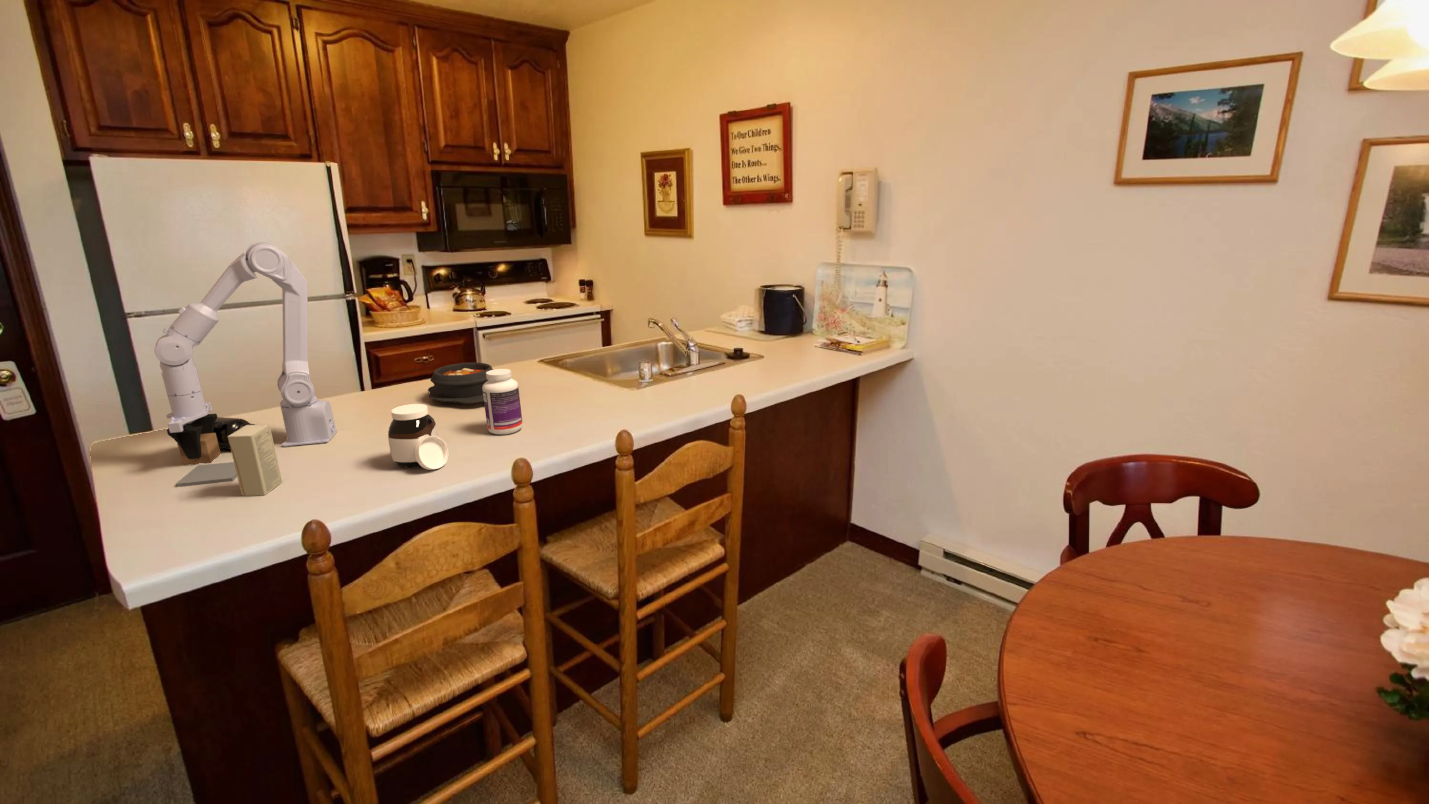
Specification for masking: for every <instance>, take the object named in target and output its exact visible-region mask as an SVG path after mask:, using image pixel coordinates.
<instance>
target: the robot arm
mask: <svg viewBox="0 0 1429 804" xmlns="http://www.w3.org/2000/svg"><path fill="white" fill-rule="evenodd" d="M256 273H258V274H260V275H262V276H264V277H266V278H268V279H270V280H271V281H273V282H274V283H275V284H276V285H277V286H278V287H280V288H281V290H282V293H281V297H282V351H283V352H282V366H281V368H282V371H281V373H280V375H279V377H278V379H277V387H278V390H279V392H280V395H281V398H282V400H281V401H280V402H279V406H280V410H281V414H282V420H283V424H284V429H285V432H286V433H285V434H286V436H287V437H286V439H285V441H284V442H282V443H281V446H282V447H291V446H292V447H293V446H302V445H313V444H323V443H324V444H325V443H329V442H330V441H331V439H332V438H333V437H334V436H335V434H336V433H337V432H338V429H336V428H337V427H336V423H335V419H334V412H333V408H332V406H331V402H330V401H329V400H319V399H318V397H317V396H316V395H315V391H316V390H315V387H314V384H313V383H312V381H311V378H310V377H311V376H310V374H311V373H310V369H309V368H310V367H309V357H308V356H309V346H308V344H309V341H308V340H309V339H308V337H309V335H308V334H309V331H308V330H309V324H308V323H309V322H308V321H309V319H308V317H309V316H308V315H309V312H308V311H309V310H308V308H309V307H308V293H309V292H308V290H309V289H308V281H307V279H306V278H305V276H303V274H302V273H301V272H300V270H299V269H298V267H297V266H296V264H294V262H293V261H292V259H291V258H290V257H289V256H288V255H287V254H286V253H284V252H283V251H282V250H280V249H279V248H277V247H276V246H274V245H272V244H270V243H268V242H263V241H260V242H259V241H257V242H254V243H252V244H250V245H249V247H248V248H247V249H246V251H245V252H243V253H241V254H240V255H239V256H238V257H237V258H236V259H234V260H233V261H232V262H231V263H230V264H229V265H228V266H227V268H226V269H225V270H224V271H223V273H222V274H221V276H219V278H218V279H217V281H216V282H215V283H214V284H213V286H212V287H211V289H210V290H208V292H207V294H206V295H205V296H204V297H203V299H201V301H200V302H193V303H188V305H186V307H185V306H181V307H180V308H179V310H178V313H179V315H178V316H177V318H176V319H175V320H174V321H173V322H172V324H171V325H170V326H169V327H165V328H163V330H162V333H164V335H161V336H160V337H159V338H158V339H157V341H156V343H155V346H154V355H155V357H156V358H157V359H158V360H159V367H160V369H161V377H162V380H163V385H164V388H165V391H166V395H167V398H168V402H169V405H170V407H169V408H170V410H171V411H170V413H167V414H166V415H165V417H166V419H170V421H169V422H168V423H167V427H168V429H166V432H167V435H168V436H169V437H171V438H172V439H173V440H174V441H175V442H176V443H178V444H179V445H180V447H181V448H182V450H183V451H184V453H185V455H186V456H187V458H188V459H198V458H201V445H200V435H201V434H207V433H213V431H214V426H215V422H216V420H217V417H218V414H217V413H211V412H213V406H212V402H211V401H210V402H208V401H207V402H206V400H205V396H204V391H203V389H202V388H203V387H202V385H201V381H200V377H199V373H198V369H197V367H196V366H195V364H194V360H193V348H194V347H196V346H200V344H201V343H202V342H203V340H204V339H205V338H206V337H207V336H208V335H209V333H210V332H211V331H212V330H213V329H214V327H216V325H217V324H218V323H219V315H218V312H217V311H219V309H220V308H221V307H222V306H223V305H224V304H225V303H226V301H227V300H228V299H229V298H230V297H231V296H232V295H233V294H234V292H235V291H236V290H237V289H238V288H239V287H240V286H241V285H242V284H244V282H248V281H249V282H250V281H251V280H254V279H257V278H258V276H257V274H256ZM178 444H177V445H178Z"/></svg>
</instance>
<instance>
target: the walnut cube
mask: <svg viewBox="0 0 1429 804" xmlns="http://www.w3.org/2000/svg"><path fill="white" fill-rule="evenodd" d="M176 443H177V442H176ZM200 445H201V458H198V459H188V458H187V456H186V455H185V453H184V451H183V450H182V448H181V447H180V445H179V444H178V443H177V447H178V451H179V456H180V458H181V462H182V466H183V465H184V466H190V465H189V464H194V465H200V464H199V463H204V464H212V463H213V462H214V461H215V460H216V459H217V458H218V457H219V455H220V454H221V455H222V453H221V450H220V449H221V448H219V445H218V441H217V437H216V433H207V434H201V435H200ZM221 455H220V456H221ZM214 459H215V460H214ZM213 460H214V461H213ZM212 461H213V462H212Z"/></svg>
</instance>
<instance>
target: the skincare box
mask: <svg viewBox="0 0 1429 804" xmlns="http://www.w3.org/2000/svg"><path fill="white" fill-rule="evenodd" d="M273 438H274V437H273V434H272V430H271V424H255V425H246V426H244V427H242V428H241V429H239V430H237V431H236V432H234V433H232V434H231V435H229V436H228V440H229V444H230V448H231V449H230V452H231V456H232V459H233V462H234V465H235V469H236V473H237V477H236V478H237V480H238V481H237V482H238V485H239V490H240V493H241V496H242V497H250V496H251V497H253V496H266V495H267V494H269V493H270V492H271V491H272V490H274V489H275V488H276V487H278V486H279V485H280V484H281V483H282V482H283V479H282V476H281V475H282V474H281V471H280V470H281V469H280V466H279V462H278V457H277V452H276V448H275V444H274V439H273Z"/></svg>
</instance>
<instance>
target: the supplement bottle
mask: <svg viewBox="0 0 1429 804" xmlns="http://www.w3.org/2000/svg"><path fill="white" fill-rule="evenodd" d="M246 425H256V424H255V423H251V422H249V421H247V420H246V419H243V418H237V417H235V418H234V417H222V416H217V420H216V422H215V426H214V431H213V433H216V437H217V441H218V445H219V449H230V450H231V448H230V444H229V440H228V436H229V435H231V434H232V433H234V432H236V431H237V430H239V429H241V428H242V427H244V426H246Z"/></svg>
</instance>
